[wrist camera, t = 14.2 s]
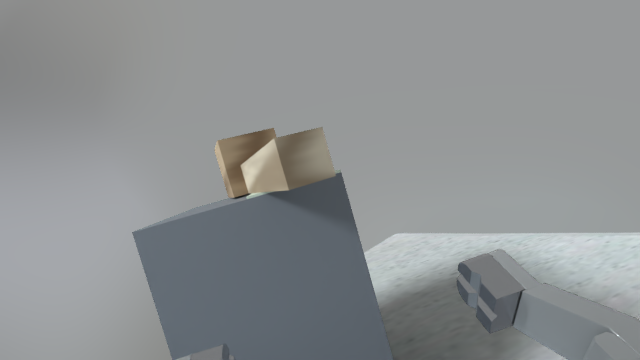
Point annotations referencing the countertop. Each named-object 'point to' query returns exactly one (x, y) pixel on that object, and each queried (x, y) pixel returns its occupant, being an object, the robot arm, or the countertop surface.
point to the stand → (266, 277)
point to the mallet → (273, 161)
